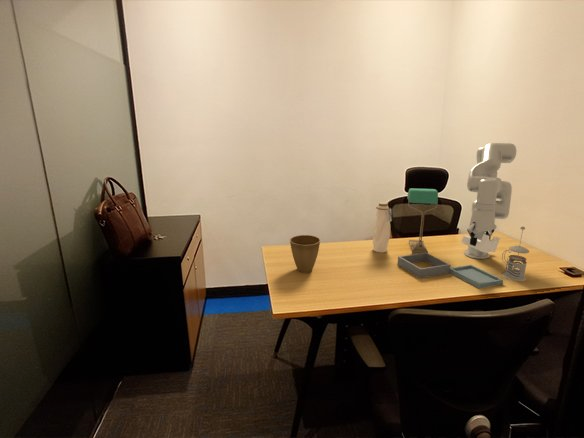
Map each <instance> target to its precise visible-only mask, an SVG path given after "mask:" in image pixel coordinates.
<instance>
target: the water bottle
mask: <svg viewBox="0 0 584 438" xmlns="http://www.w3.org/2000/svg"><path fill="white" fill-rule="evenodd" d="M375 209H376V222H375V232H374V233H373V234H374V235H373V237H372V245H373V247H372V250H373V251H374V252H377V253H386V252H387V250H388V247H389V241H390V237H391V222H392V221H393V216H392V215H393V214H392V208H390V207H389V204H388V202H385V201H384V202H383V201H381V202H378V205H377V206H376V207H375Z"/></svg>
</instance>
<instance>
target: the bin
mask: <svg viewBox="0 0 584 438" xmlns="http://www.w3.org/2000/svg"><path fill="white" fill-rule="evenodd" d="M421 262H425V263H428V264H430V265H432V266H429V267H423V268H422V267H419V266H418V265H415V264H416V263H421ZM414 263H415V264H414ZM397 265H398V266H399V267H400V268H403V269H404V270H406V271H407V272H409V273H410V274H412V275H414V276H415V277H417V278H419V279H422V278H428V277H434V276H442V275H447V274H451V273H450V268H451V264H450V263H448V262H446V261H445V260H442V259H440V258H439V257H436V256H434V255H432V254H430V253H429V252H428V253H420V254H416V253H411V254H406V255H405V254H404V255H399V256H398V257H397Z"/></svg>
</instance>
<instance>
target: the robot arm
mask: <svg viewBox="0 0 584 438" xmlns="http://www.w3.org/2000/svg"><path fill="white" fill-rule="evenodd" d="M516 156H517V147H516V145H515V144H514V143H510V142H509V143H508V142H507V143H506V142H503V143H502V142H492V143H491V142H490V143H487V144H485V146H481V147H479V148H478V149H477V151H476V165H474V166H473V167H472V168H471V170H470V171H469V172H468V178H467V183H466V185H467V186H466V187H467V190H468V191H469V192H471V193H477V196H476V199H475V200H474V201H473V202H472V203H471V217H470V222H469V227H468V228H466V231H467V232H468V234H469V237H471V239H470V245H473V246H476V243H477V239H479V240H481V239H482V237H483V234H486V235H488V236H490V237H489V240H491V239H492V238H491V237H492V236H493V234H494V232H495V230H496V229H497V224H495V221H496V219H498V220H505V219H507V218H509V215H510V208H511V200H512V194H513V193H512V192H513V191H512V190H513V189H512V188H513V187H512V184H511V182H510V181H505V180H502V179H501V178H499V177H498V171H499V170H500V168H501V165H502V164H511V163H513V161H514V160H515V159H516ZM463 254H464V255H465V256H467V257H468V258H469V257H470V258H472V259H477V260H487V259H489V258H490V253H489V252H488V253H486V252H481V251H479V250H477V249H475V248H472V247H470V246H468V245H467V249H465V250H464V252H463Z"/></svg>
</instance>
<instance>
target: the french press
mask: <svg viewBox="0 0 584 438" xmlns="http://www.w3.org/2000/svg"><path fill="white" fill-rule="evenodd" d="M519 230H521V233H523V232H524V230H526V227H525V226H520V229H519ZM520 235H521V236H520V242H519V244H521V242H522V237H523V234H520ZM507 252H508V253H509V254H510V253H512V252H513V253H517V255H516V254H511V255H508V258H507V260H506V257H505V255H506V253H507ZM528 253H530V250H529V249H527V248H525V247H524V246H522V245H513V246H509V247H508V249H506V250H504V251H503V253H501V255H502V256H501V260H502V262H503V264H505V271H504V272H503V273H502V274H501V275H502V276H503V278H505V279H508V280H510V281H515V282H525V281H526V280H527V278H526V276H525V274H526V267H527V263H528V262H527V258H526V257H524V256H522V255H520V254H528Z"/></svg>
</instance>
